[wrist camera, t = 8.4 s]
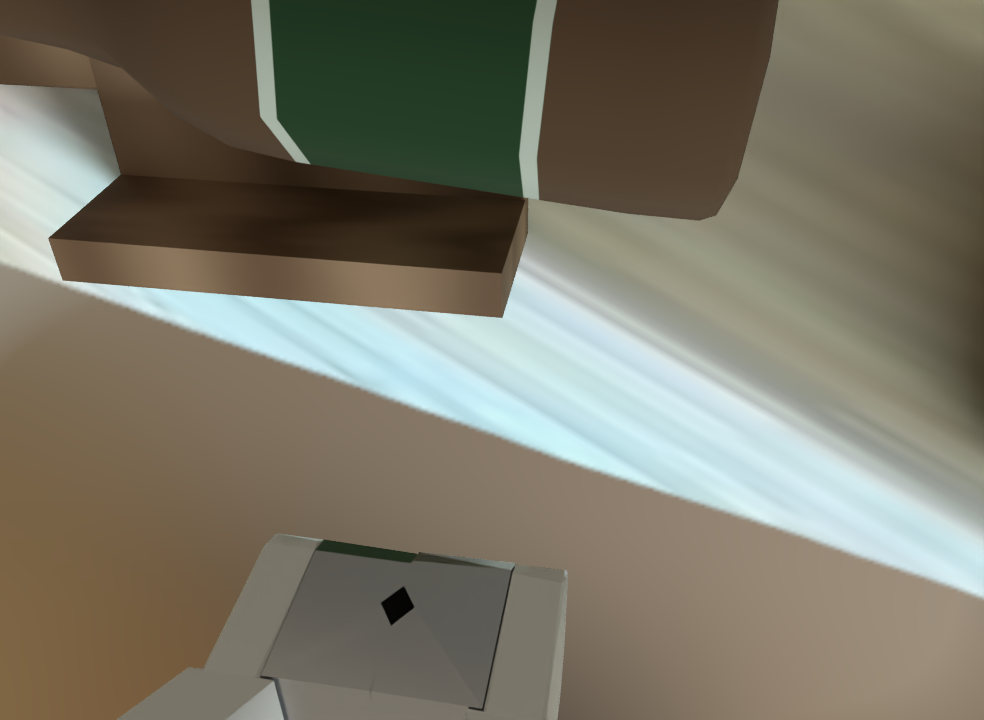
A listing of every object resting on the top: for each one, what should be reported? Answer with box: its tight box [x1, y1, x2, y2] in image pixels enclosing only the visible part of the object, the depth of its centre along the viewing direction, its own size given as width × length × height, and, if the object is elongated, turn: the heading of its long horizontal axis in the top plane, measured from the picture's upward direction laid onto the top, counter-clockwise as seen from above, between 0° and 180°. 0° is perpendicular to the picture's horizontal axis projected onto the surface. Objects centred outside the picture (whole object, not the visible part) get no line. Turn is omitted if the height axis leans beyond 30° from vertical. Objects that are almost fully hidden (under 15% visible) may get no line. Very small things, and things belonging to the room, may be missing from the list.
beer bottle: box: [0, 0, 778, 220], centre depth 23 cm, size 8×8×24 cm
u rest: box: [0, 35, 528, 318], centre depth 26 cm, size 20×15×5 cm
